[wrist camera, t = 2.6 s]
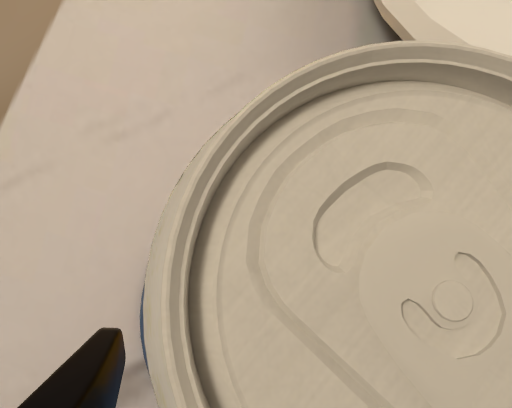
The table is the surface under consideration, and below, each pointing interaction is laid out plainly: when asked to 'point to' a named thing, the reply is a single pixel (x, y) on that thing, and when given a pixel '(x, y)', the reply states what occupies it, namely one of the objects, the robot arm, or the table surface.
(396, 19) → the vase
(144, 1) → the table surface
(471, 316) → the beer can
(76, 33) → the table surface
